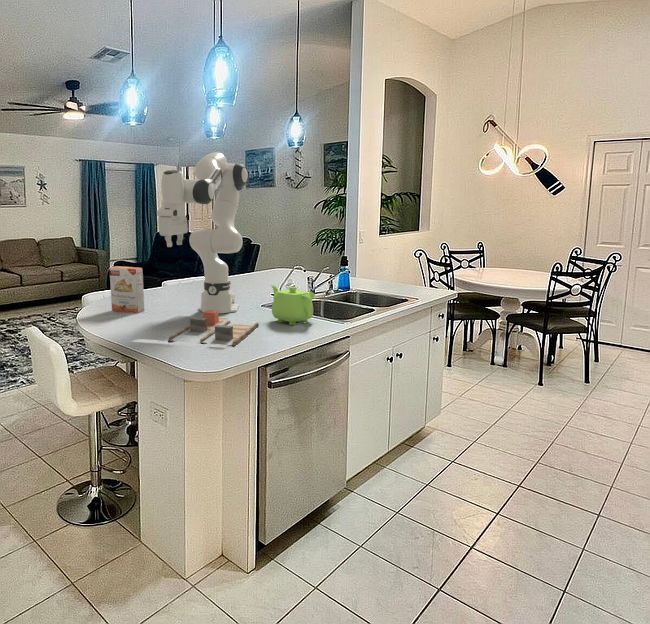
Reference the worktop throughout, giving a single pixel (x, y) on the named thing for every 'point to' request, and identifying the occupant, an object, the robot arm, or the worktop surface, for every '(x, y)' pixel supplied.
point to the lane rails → (214, 333)
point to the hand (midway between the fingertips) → (174, 245)
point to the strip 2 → (229, 332)
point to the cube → (211, 316)
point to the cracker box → (127, 289)
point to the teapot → (292, 305)
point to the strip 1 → (202, 325)
